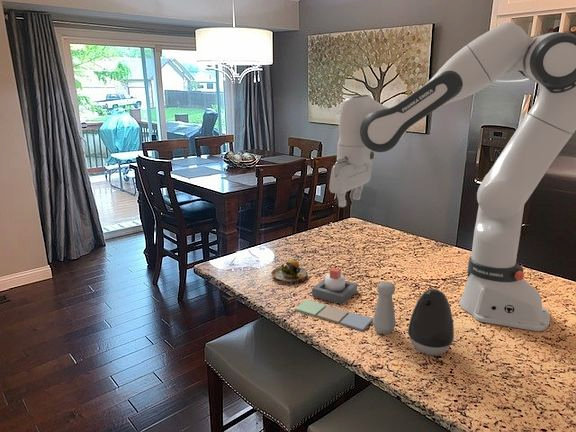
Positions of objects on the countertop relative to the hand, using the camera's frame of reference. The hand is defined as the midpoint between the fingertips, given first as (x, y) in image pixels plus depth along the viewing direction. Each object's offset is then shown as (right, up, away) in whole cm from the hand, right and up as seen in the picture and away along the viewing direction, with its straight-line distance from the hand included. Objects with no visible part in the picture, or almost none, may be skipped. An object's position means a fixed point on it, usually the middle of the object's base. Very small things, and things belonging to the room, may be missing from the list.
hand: (349, 202), depth 125 cm
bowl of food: (-17, -24, +18) cm, 35 cm away
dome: (-4, -25, +5) cm, 26 cm away
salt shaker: (+7, -33, -14) cm, 37 cm away
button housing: (-4, -27, +6) cm, 28 cm away
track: (-6, -31, -7) cm, 32 cm away
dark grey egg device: (+16, -35, -22) cm, 45 cm away
